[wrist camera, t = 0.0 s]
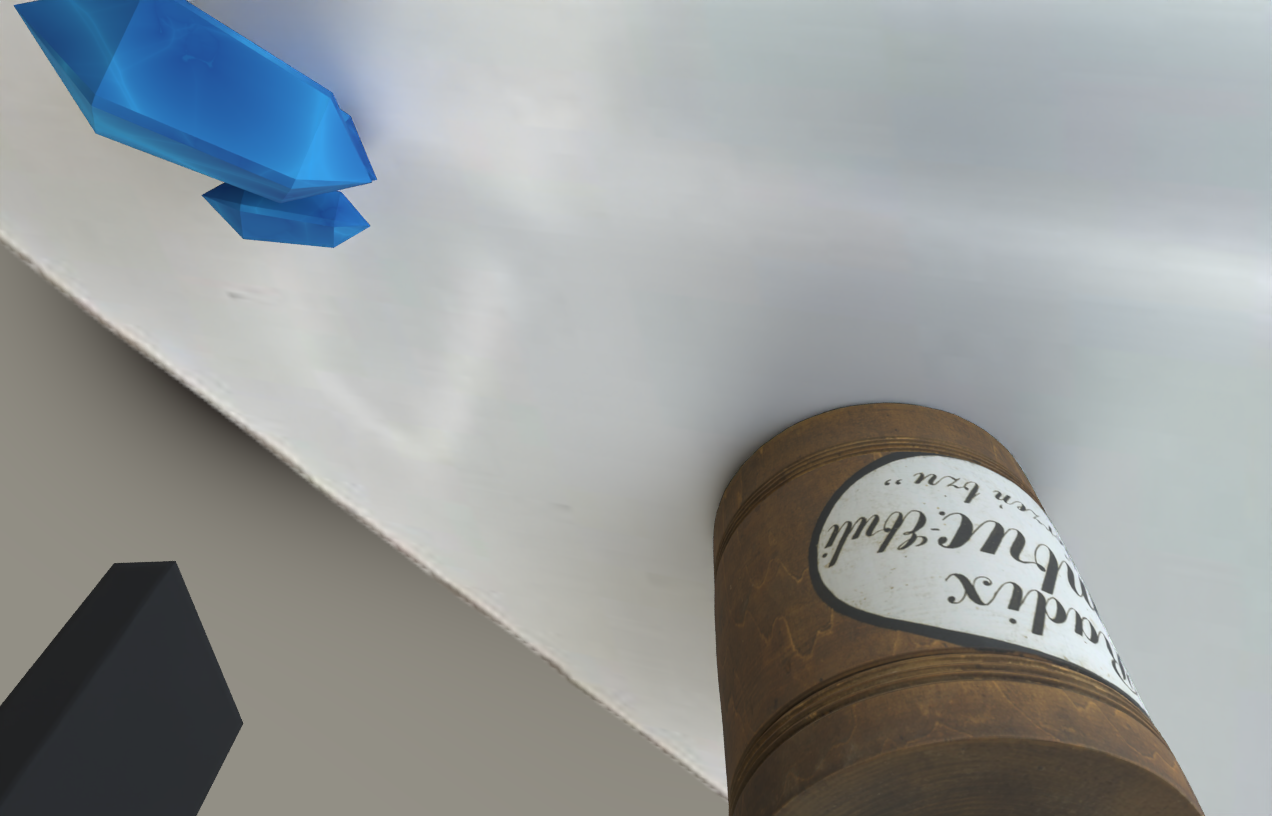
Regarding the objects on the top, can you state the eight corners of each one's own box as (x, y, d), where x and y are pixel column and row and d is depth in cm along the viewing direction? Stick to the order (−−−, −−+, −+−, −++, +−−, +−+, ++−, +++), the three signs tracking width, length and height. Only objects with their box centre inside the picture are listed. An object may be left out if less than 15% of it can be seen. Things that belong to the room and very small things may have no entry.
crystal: (330, 336, 34) (-61, 174, 28) (353, 222, 40) (40, 74, 35) (427, 161, 30) (2, -59, 25) (433, 68, 37) (100, -120, 32)
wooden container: (1104, 488, 43) (1424, 992, 24) (905, 689, 50) (1034, 1203, 31) (827, 341, 40) (945, 786, 21) (656, 577, 47) (631, 1070, 28)
